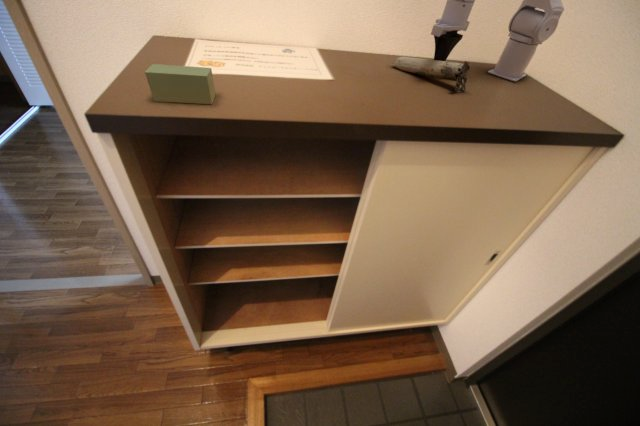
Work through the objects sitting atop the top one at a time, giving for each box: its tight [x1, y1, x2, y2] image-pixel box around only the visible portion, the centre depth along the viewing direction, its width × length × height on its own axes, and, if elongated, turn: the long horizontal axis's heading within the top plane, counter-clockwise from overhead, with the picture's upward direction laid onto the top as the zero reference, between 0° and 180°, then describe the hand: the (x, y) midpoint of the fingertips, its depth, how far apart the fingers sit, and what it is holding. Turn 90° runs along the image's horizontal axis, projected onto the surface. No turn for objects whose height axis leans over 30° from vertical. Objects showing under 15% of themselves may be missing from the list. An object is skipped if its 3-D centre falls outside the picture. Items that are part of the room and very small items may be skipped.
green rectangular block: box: [144, 63, 216, 105], centre depth 51 cm, size 4×10×5 cm, turn 95°
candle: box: [390, 56, 471, 93], centre depth 71 cm, size 6×20×6 cm, turn 37°
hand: (437, 65), depth 73 cm, fingers closed
